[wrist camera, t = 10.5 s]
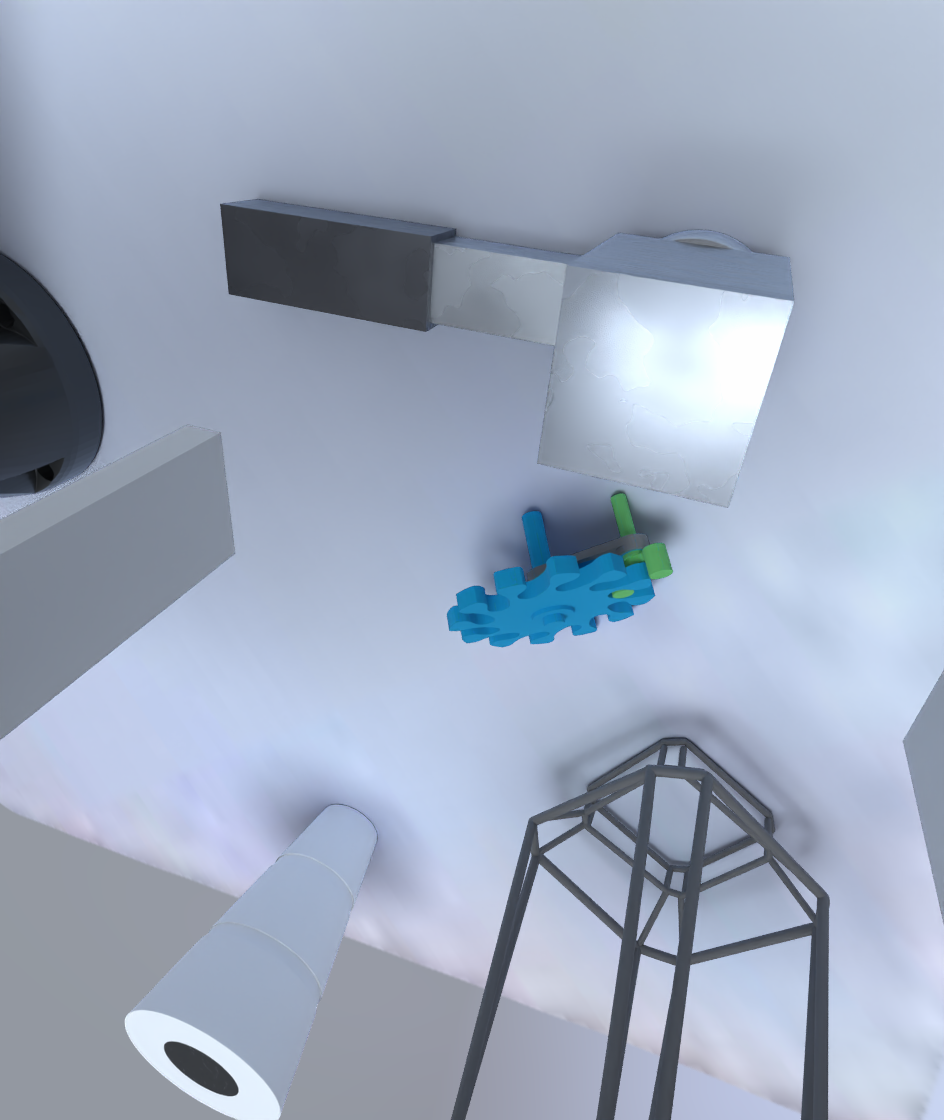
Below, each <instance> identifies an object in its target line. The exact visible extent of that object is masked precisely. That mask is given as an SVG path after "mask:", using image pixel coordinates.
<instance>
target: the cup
mask: <svg viewBox="0 0 944 1120" xmlns="http://www.w3.org/2000/svg"><path fill="white" fill-rule="evenodd" d="M376 842H377V832H376V830H375V828H374V826H373V824H372V823H371V822H370V821H369V820H368V819H367V818H366V817H365V816H364V815H363V814H361V813H360V812H358V811H357V810H355V809H353V808H351V807H348V806H345V805H338V804H336V805H330V806H328V807H326V808H325V809H324V810H323V812H322V813H321V814H320V815H319V816H318V817H317V818H316V819H315V820H314V821H313V822H312V823H311V824H310V825H309V826H308V827H307V828H306V829H305V830H304V831H303V832H302V834H301V835H300V836H299V837H298V838H297V839H296V840H295V841H294V842H293V843H292V844H291V845H290V846H289V847H288V848H287V849H286V850H285V851H284V852H283V853H282V855H281V856H280V857H279V858H278V859H277V860H276V862H275V864H274V865H272V866H270V867H269V868H268V869H267V871H266V872H265V873H264V874H263V875H262V876H261V877H260V878H259V879H258V880H257V881H256V882H255V883H254V884H253V885H252V886H251V887H250V888H249V889H248V890H247V891H246V892H245V893H244V894H243V895H242V896H241V897H240V898H239V899H238V900H237V902H236V903H235V904H234V905H233V906H232V907H231V908H230V909H229V910H228V911H227V912H226V913H225V914H224V915H223V916H222V917H221V918H220V919H219V920H218V921H217V922H216V923H215V924H214V926H212V927H211V929H210V931H209V933H208V934H207V935H205V936H203V937H202V938H201V939H200V940H199V941H198V942H197V943H196V944H195V945H194V946H193V947H192V948H191V949H190V950H189V951H188V952H187V953H186V954H185V956H183V957H182V958H181V959H180V960H179V961H178V963H177V964H176V965H175V966H174V967H173V968H172V969H171V970H170V971H169V972H168V973H167V974H166V975H165V976H164V977H163V978H162V979H161V980H160V981H159V983H157V984H156V986H155V987H154V988H153V989H152V990H151V991H150V992H149V993H148V994H147V995H146V996H145V997H144V998H143V999H142V1000H141V1001H140V1002H139V1003H138V1004H137V1005H136V1006H135V1008H134V1009H132V1011H131V1012H130V1013H129V1014H128V1015H127V1017H126V1018H125V1028H126V1031H127V1033H128V1036H129V1038H130V1039H131V1041H132V1043H133V1044H134V1045H135V1047H136V1048H137V1050H138V1051H139V1052H140V1053H141V1054H142V1055H143V1057H144V1058H145V1059H146V1060H147V1061H148V1062H149V1063H150V1064H151V1065H152V1066H153V1067H154V1068H155V1069H156V1070H158V1071H159V1072H160V1073H161V1074H162V1075H163V1076H164V1077H166V1078H167V1079H168V1080H169V1081H171V1082H172V1083H174V1085H176V1086H177V1087H179V1088H180V1089H181V1090H183V1091H184V1092H186V1093H187V1094H189V1095H190V1096H192V1097H193V1098H195V1099H197V1100H198V1101H200V1102H202V1103H203V1104H205V1105H207V1106H209V1107H211V1108H212V1109H214V1110H217V1111H218V1112H221V1113H223V1114H225V1115H227V1116H230V1117H232V1118H235V1119H238V1120H278V1119H279V1117H280V1114H281V1112H282V1109H283V1106H284V1103H285V1100H286V1097H287V1095H288V1092H289V1089H290V1086H291V1083H292V1080H293V1078H294V1075H295V1072H296V1069H297V1066H298V1063H299V1061H300V1058H301V1055H302V1052H303V1049H304V1046H305V1044H306V1041H307V1038H308V1035H309V1032H310V1029H311V1026H312V1023H313V1021H314V1018H315V1015H316V1011H317V1010H316V1007H317V1004H318V1003H319V1002H320V1000H321V998H322V995H323V992H324V989H325V986H326V983H327V980H328V978H329V975H330V972H331V969H332V966H333V963H334V960H335V957H336V955H337V952H338V949H339V946H340V943H341V940H342V937H343V934H344V932H345V929H346V926H347V923H348V920H349V916H350V912H351V910H352V909H353V907H354V904H355V901H356V898H357V895H358V893H359V890H360V887H361V884H362V881H363V878H364V876H365V873H366V870H367V867H368V864H369V862H370V859H371V856H372V853H373V850H374V848H375V845H376Z"/></svg>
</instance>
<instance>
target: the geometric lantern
mask: <svg viewBox="0 0 944 1120" xmlns="http://www.w3.org/2000/svg"><path fill="white" fill-rule="evenodd" d="M675 745H685V746H686V747H687V748H688V749H689V750H690V751H691V752H693V753H694V754H695V755H696V756H697V757H698V758H699V759H700V760H702V761H703V762H704V763H705V764H706V765H707V766H708V767H709V768H711V769H712V770H713V771H714V772H715V773H716V774H717V775H719V776H720V777H721V778H722V779H723V780H724V781H725V782H726V783H728V784H729V785H730V786H731V787H732V788H733V789H734V790H736V791H737V792H738V793H739V794H740V795H741V796H742V797H743V798H745V799H746V800H747V801H748V802H749V803H750V804H751V805H752V806H754V807H755V808H756V809H757V810H758V811H759V812H760V813H762V814H763V815H764V816H765V817H766V818H765V820H764V821H765V829H764V828H763V827H762V826H761V825H760V824H759V823H758V822H757V821H756V820H755V819H754V818H753V816H752V815H751V814H750V813H749V812H748V811H747V810H746V809H745V808H744V807H743V806H742V805H741V804H740V803H739V802H738V801H737V800H736V799H735V798H734V797H733V796H732V795H731V794H730V793H729V792H728V791H727V790H726V789H725V788H724V787H723V786H722V785H721V784H720V783H719V781H718V780H717V779H716V778H715V777H714V776H713V775H712V774H710V773H709V772H707V771H705V770H704V769H700V768H691V767H685V763H686V753H687V749H686V747H685V746H681V748H680V753H679V762H678V766H672V765H664V763H665V758H666V753H667V746H675ZM658 750H660V753H659V758H658V763H657V765H646V767H644V768H642V769H640V770H637V771H635V772H633V773H631V774H628V775H626V776H624V777H622V778H619V779H617V780H615V781H612V782H610V783H608V784H606V785H603V784H604V783H606V782H608V781H609V780H611V779H613V778H614V777H616V776H617V775H619V774H621V773H622V772H624V771H626V770H627V769H629V768H630V767H632V766H634V765H635V764H637V763H639V762H640V761H642V760H643V759H645V758H647V757H648V756H650V755H652V754H653V753H655V752H657V751H658ZM656 777H669V778H679V779H685V780H686V781H688V782H689V783H690V784H691V785H692V786H693V787H695V788H696V789H697V790H698V791H699V792H700V796H699V803H698V811H697V818H696V826H695V833H694V840H693V847H692V854H691V861H690V866H688V867H686V866H676V865H669V864H668V863H667V862H665V861H664V860H663V859H662V858H661V857H660V856H658V855H657V854H656V853H655V852H654V851H653V850H652V849H650V848H649V847H648V842H649V834H650V826H651V817H652V808H653V799H654V789H655V780H656ZM697 780H698V781H701V784H700V783H699V782H698V781H697ZM643 784H644V786H643V795H642V803H641V811H640V819H639V826H638V833H637V837H636V836H635V835H634V834H633V833H632V832H631V831H630V830H628V829H627V828H626V827H625V826H624V825H623V824H621V823H620V822H619V821H618V820H617V819H616V818H614V817H613V816H612V815H611V814H610V813H609V812H608V811H606V810H605V809H604V808H603V806H605V805H607V804H609V803H611V802H612V801H614V800H616V799H618V798H620V797H621V796H623V795H625V794H627V793H628V792H630V791H632V790H634V789H636V788H637V787H639V786H641V785H643ZM601 785H603V786H601ZM600 786H601V787H600ZM598 787H599V788H598ZM596 788H597V789H596ZM616 791H617V792H616ZM712 791H713V792H714V793H715V794H716V795H717V796H718V797H719V798H720V799H721V800H722V801H723V802H724V803H725V804H726V805H727V806H728V807H729V808H730V809H731V810H732V811H733V812H734V813H735V814H734V813H733V812H732V811H731V810H730V809H729V808H728V807H726V806H725V805H724V804H723V803H722V802H721V801H720V800H718V799H717V798H716V797H715V796H714V795H713V794H712ZM614 792H615V793H614ZM612 793H613V794H612ZM609 794H611V795H609ZM607 795H609V796H608V797H606V798H604V799H602V800H601V801H599V802H597V801H596V800H598V799H600V798H602V797H605V796H607ZM711 802H712V803H713V804H714V805H715V806H716V807H717V808H719V809H720V810H721V811H722V812H723V813H724V814H726V815H727V816H728V817H729V818H730V819H731V820H732V821H734V822H735V823H736V824H737V825H738V826H739V827H740V828H742V829H743V830H744V831H745V832H746V833H747V834H748V835H750V836H751V837H750V838H748V839H746V840H743V841H741V842H739V843H737V844H735V845H733V846H731V847H729V848H727V849H724V850H722V851H720V852H718V853H716V854H714V855H712V856H710V857H708V858H705V859H704V851H705V843H706V835H707V827H708V819H709V811H710V803H711ZM584 805H585V807H584V809H583V810H576V811H572V810H574V809H576V808H579V807H581V806H584ZM596 810H598V811H599V812H600V813H601V814H602V815H603V816H604V817H606V818H607V819H608V820H609V821H610V822H611V823H613V824H614V825H615V826H616V827H617V828H618V829H620V830H621V831H622V832H623V833H624V834H625V835H627V836H628V837H629V838H630V839H631V840H632V841H633V842H635V843H636V847H635V854H634V860H633V859H631V858H630V857H629V856H628V855H626V854H625V853H624V852H623V851H622V850H620V849H619V848H618V847H617V846H615V845H614V844H613V843H612V842H610V841H609V840H608V839H607V838H606V837H604V836H603V835H602V834H601V833H599V832H598V831H597V830H596V829H594V828H593V827H592V826H591V823H592V820H593V817H594V814H595V811H596ZM580 816H582V823H580V824H578V825H577V826H575V827H573V828H572V829H570V830H569V831H567V832H565V833H564V834H562V835H560V836H559V837H557V838H556V839H554V840H552V841H551V842H549V843H547V844H546V845H544V846H542V847H541V848H539V842H538V831H537V825H539V824H541V823H544V822H546V821H550V820H558V819H565V818H573V817H580ZM584 828H585V829H586V830H587V831H588V832H590V833H591V834H592V835H593V836H595V837H596V838H597V839H598V840H600V841H601V842H602V843H603V844H604V845H606V846H607V847H608V848H609V849H611V850H612V851H613V852H614V853H616V854H617V855H618V856H619V857H621V858H622V859H623V860H624V861H625V862H627V863H628V864H629V865H630V866H632V867H633V868H632V875H631V882H630V889H629V896H628V903H627V910H626V917H625V924H624V929H623V928H622V927H621V926H620V925H619V924H618V923H617V922H616V921H615V920H614V919H613V918H612V917H610V916H609V915H608V914H607V913H606V912H605V911H604V910H603V909H602V908H601V907H600V906H598V905H597V904H596V903H595V902H594V901H593V900H592V899H591V898H590V897H589V896H588V895H587V894H585V893H584V892H583V891H582V890H581V889H580V888H579V887H578V886H577V885H576V884H575V883H574V882H572V881H571V880H570V879H569V878H568V877H567V876H566V875H565V874H564V873H563V872H562V871H561V870H559V869H558V868H557V867H556V866H555V865H554V864H553V863H552V862H551V861H550V860H549V859H548V858H546V857H545V856H544V855H543V854H544V853H545V852H547V851H549V850H550V849H552V848H554V847H555V846H557V845H558V844H560V843H562V842H563V841H565V840H566V839H568V838H570V837H571V836H573V835H575V834H576V833H578V832H579V831H581V830H583V829H584ZM774 832H775V827H774V822H773V817H772V813H771V812H770V811H768V810H767V809H766V808H765V807H763V806H762V805H761V804H760V803H759V802H758V801H757V800H755V799H754V798H753V797H752V796H751V795H750V794H749V793H748V792H746V791H745V790H744V789H743V788H742V787H741V786H740V785H739V784H737V783H736V782H735V781H734V780H733V779H732V778H731V777H729V776H728V775H727V774H726V773H725V772H724V771H723V770H722V769H720V768H719V767H718V766H717V765H716V764H715V763H714V762H712V761H711V760H710V759H709V758H708V757H707V756H706V755H705V754H703V753H702V752H701V751H700V750H699V749H698V748H697V747H696V746H694V745H693V744H692V743H691V742H690V741H688V740H687V739H685V738H682V739H662V740H661V741H660V742H658V743H657V744H655V745H653V746H652V747H650V748H649V749H647V750H645V751H644V752H642V753H640V754H639V755H637V756H636V757H634V758H632V759H631V760H629V761H628V762H626V763H624V764H623V765H621V766H620V767H618V768H616V769H615V770H613V771H612V772H610V773H608V774H607V775H605V776H604V777H602V778H600V779H599V780H597V781H596V782H594V783H592V784H591V785H589V786H588V787H587V793H585V794H583V795H581V796H578V797H576V798H574V799H571V800H569V801H567V802H565V803H562V804H560V805H558V806H556V807H553V808H551V809H549V810H546V811H544V812H542V813H540V814H537V815H535V816H533V817H531V818H530V819H529V821H528V825H527V829H526V833H525V837H524V840H523V844H522V848H521V852H520V855H519V859H518V863H517V867H516V871H515V874H514V878H513V882H512V886H511V890H510V894H509V898H508V901H507V905H506V909H505V913H504V917H503V921H502V925H501V929H500V932H499V936H498V940H497V944H496V948H495V952H494V956H493V959H492V963H491V967H490V971H489V975H488V979H487V983H486V986H485V990H484V994H483V998H482V1002H481V1006H480V1010H479V1014H478V1017H477V1021H476V1025H475V1029H474V1033H473V1037H472V1041H471V1044H470V1049H469V1052H468V1056H467V1060H466V1064H465V1068H464V1072H463V1075H462V1079H461V1083H460V1087H459V1091H458V1095H457V1098H456V1102H455V1106H454V1110H453V1114H452V1117H451V1120H465V1118H466V1114H467V1111H468V1107H469V1104H470V1100H471V1097H472V1093H473V1089H474V1086H475V1083H476V1080H477V1076H478V1073H479V1069H480V1065H481V1062H482V1059H483V1055H484V1052H485V1048H486V1045H487V1041H488V1038H489V1035H490V1031H491V1028H492V1024H493V1021H494V1017H495V1014H496V1010H497V1007H498V1003H499V1000H500V996H501V993H502V989H503V986H504V983H505V979H506V976H507V972H508V969H509V965H510V962H511V958H512V955H513V951H514V948H515V944H516V941H517V937H518V934H519V931H520V927H521V924H522V920H523V917H524V913H525V910H526V906H527V903H528V899H529V896H530V893H531V889H532V886H533V882H534V879H535V875H536V872H537V869H538V865H539V864H540V865H542V866H543V867H544V868H545V869H546V870H547V871H548V872H549V873H550V874H551V875H552V876H554V877H555V878H556V879H557V880H558V881H559V882H560V883H561V884H562V885H563V886H564V887H565V888H567V889H568V890H569V891H570V892H571V893H572V894H573V895H574V896H575V897H576V898H577V899H579V900H580V901H581V902H582V903H583V904H584V905H585V906H586V907H587V908H588V909H589V910H591V911H592V912H593V913H594V914H595V915H596V916H597V917H598V918H599V919H600V920H601V921H602V922H604V923H605V924H606V925H607V926H608V927H609V928H610V929H611V930H612V931H613V932H614V933H616V934H617V935H618V936H619V937H620V938H621V939H622V945H621V952H620V959H619V966H618V973H617V980H616V987H615V994H614V1001H613V1008H612V1015H611V1022H610V1029H609V1036H608V1043H607V1050H606V1057H605V1064H604V1071H603V1078H602V1085H601V1092H600V1098H599V1105H598V1112H597V1119H596V1120H614V1116H615V1110H616V1103H617V1097H618V1091H619V1085H620V1078H621V1072H622V1066H623V1059H624V1053H625V1047H626V1041H627V1035H628V1028H629V1022H630V1016H631V1010H632V1003H633V997H634V991H635V985H636V979H637V973H638V967H639V961H640V955H641V954H643V955H646V956H648V957H651V958H654V959H657V960H660V961H663V962H666V963H669V964H672V965H676V967H675V974H674V981H673V988H672V994H671V999H670V1004H669V1010H668V1015H667V1021H666V1026H665V1032H664V1037H663V1043H662V1049H661V1054H660V1060H659V1065H658V1071H657V1077H656V1082H655V1087H654V1093H653V1099H652V1104H651V1110H650V1115H649V1120H671V1113H672V1106H673V1098H674V1090H675V1082H676V1074H677V1066H678V1058H679V1050H680V1042H681V1034H682V1026H683V1018H684V1011H685V1003H686V995H687V987H688V979H689V971H690V965H692V964H696V963H700V962H705V961H709V960H713V959H717V958H721V957H725V956H729V955H733V954H737V953H741V952H745V951H749V950H753V949H757V948H761V947H765V946H769V945H773V944H777V943H781V942H786V941H790V940H794V939H798V938H802V937H806V936H810V935H812V939H811V957H810V974H809V992H808V1009H807V1026H806V1043H805V1061H804V1078H803V1095H802V1112H801V1120H828V957H829V906H830V899H829V896H828V894H827V893H826V892H825V891H824V890H823V889H822V888H821V886H820V885H819V884H818V883H817V882H816V881H815V880H814V879H813V878H812V877H811V876H810V875H809V874H808V873H807V872H806V871H805V870H804V869H803V868H802V867H801V866H800V865H799V864H798V863H797V862H796V861H795V860H794V859H793V858H792V857H791V856H790V855H789V854H788V853H787V851H786V850H785V849H784V848H783V847H782V846H781V845H780V844H779V843H778V842H777V841H776V840H775V839H774V838H773V833H774ZM756 842H758V843H759V844H760V845H761V846H762V847H763V848H764V856H762V857H760V858H758V859H756V860H753V861H751V862H749V863H747V864H744V865H742V866H740V867H738V868H736V869H733V870H731V871H729V872H727V873H724V874H722V875H720V876H718V877H716V878H713V879H711V880H709V881H707V882H704V883H702V884H700V883H701V875H702V867H704V866H706V865H708V864H711V863H713V862H715V861H717V860H719V859H721V858H723V857H726V856H728V855H730V854H732V853H734V852H736V851H738V850H741V849H743V848H745V847H747V846H749V845H751V844H753V843H756ZM530 851H531V855H532V857H531V860H530V864H529V867H528V870H527V874H526V877H525V880H524V876H525V871H526V867H527V863H528V859H529V855H530ZM647 854H649V855H650V856H651V857H652V858H653V859H654V860H655V861H657V862H658V863H659V864H660V865H661V866H662V867H664V868H665V869H666V870H667V872H666V877H665V882H664V884H662V883H661V882H660V881H659V880H657V879H656V878H655V877H654V876H652V875H651V874H650V873H649V872H647V871H646V870H645V865H646V857H647ZM773 856H774V857H775V858H776V859H777V860H778V861H780V862H781V863H782V864H783V865H784V866H785V867H786V868H787V869H789V870H790V871H791V872H792V873H793V874H794V875H795V876H796V877H797V878H798V879H799V880H800V881H801V882H802V883H803V884H804V885H805V886H806V887H807V888H808V889H809V890H810V891H811V892H812V893H813V894H814V895H815V896H816V897H817V910H816V914H815V913H814V912H813V910H812V909H811V908H810V906H809V905H808V904H807V902H806V901H805V900H804V898H803V897H802V896H801V894H800V893H799V892H798V890H797V889H796V887H795V886H794V885H793V883H792V882H791V881H790V879H789V878H788V877H787V875H786V874H785V873H784V871H783V870H782V869H781V867H780V866H779V865H778V863H777V862H776V861H775V859H774V858H773ZM767 862H769V864H770V865H771V866H772V868H773V869H774V870H775V872H776V873H777V875H778V876H779V877H780V879H781V880H782V881H783V883H784V884H785V885H786V887H787V888H788V889H789V891H790V892H791V893H792V895H793V896H794V898H795V899H796V900H797V902H798V903H799V904H800V906H801V907H802V908H803V910H804V911H805V912H806V914H807V915H808V917H809V918H810V919H811V921H812V922H813V923H809V924H805V925H801V926H797V927H793V928H789V929H786V930H782V931H778V932H774V933H770V934H766V935H762V936H758V937H755V938H751V939H747V940H743V941H739V942H735V943H731V944H727V945H724V946H720V947H716V948H712V949H708V950H704V951H700V952H696V953H693V954H692V947H693V939H694V931H695V923H696V915H697V907H698V899H699V892H702V891H704V890H706V889H708V888H711V887H713V886H715V885H717V884H720V883H722V882H724V881H727V880H729V879H731V878H733V877H736V876H738V875H740V874H742V873H745V872H747V871H749V870H752V869H754V868H756V867H758V866H761V865H763V864H765V863H767ZM673 872H683V873H684V880H683V888H682V892H680V891H677V890H673V889H670V884H671V879H672V874H673ZM644 877H645V878H646V879H648V880H649V881H650V882H651V883H653V884H654V885H655V886H656V887H658V888H659V889H660V890H661V891H663V892H662V894H661V896H660V898H659V900H658V902H657V904H656V906H655V908H654V910H653V912H652V914H651V916H650V918H649V920H648V921H647V923H646V925H645V927H644V929H643V931H642V933H641V935H640V937H639V939H638V941H636V936H637V929H638V921H639V913H640V905H641V897H642V889H643V881H644ZM523 880H524V883H523ZM522 884H523V887H522ZM521 888H522V890H521ZM520 892H521V893H520ZM668 895H671V896H674V897H677V898H678V913H679V946H678V953H677V956H676V955H672V954H669V953H666V952H663V951H660V950H657V949H654V948H651V947H649V946H646V945H644V942H645V940H646V938H647V936H648V934H649V932H650V930H651V928H652V926H653V924H654V922H655V920H656V918H657V916H658V914H659V912H660V910H661V908H662V907H663V905H664V903H665V901H666V899H667V897H668ZM519 896H520V897H519ZM684 899H685V903H684Z"/></svg>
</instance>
